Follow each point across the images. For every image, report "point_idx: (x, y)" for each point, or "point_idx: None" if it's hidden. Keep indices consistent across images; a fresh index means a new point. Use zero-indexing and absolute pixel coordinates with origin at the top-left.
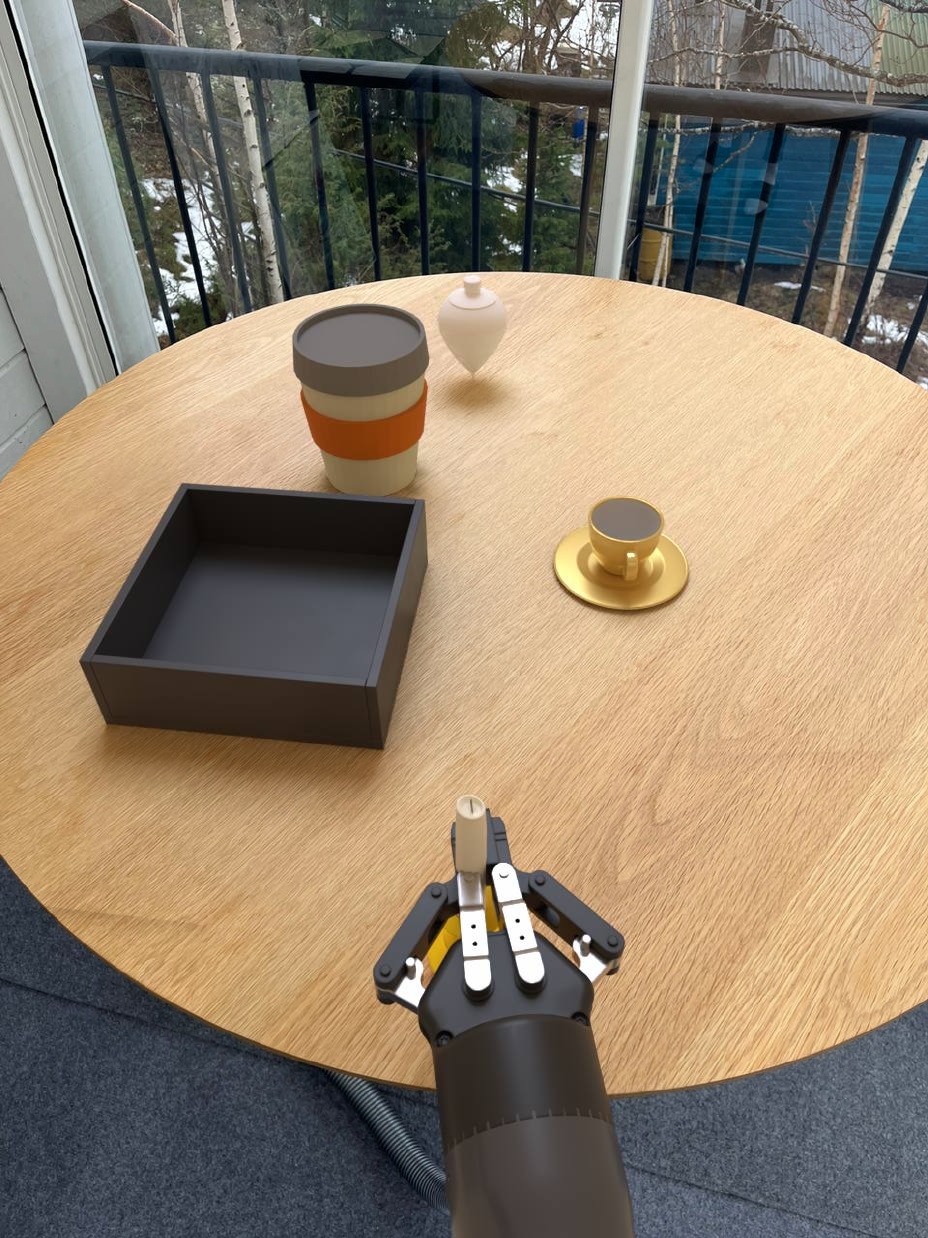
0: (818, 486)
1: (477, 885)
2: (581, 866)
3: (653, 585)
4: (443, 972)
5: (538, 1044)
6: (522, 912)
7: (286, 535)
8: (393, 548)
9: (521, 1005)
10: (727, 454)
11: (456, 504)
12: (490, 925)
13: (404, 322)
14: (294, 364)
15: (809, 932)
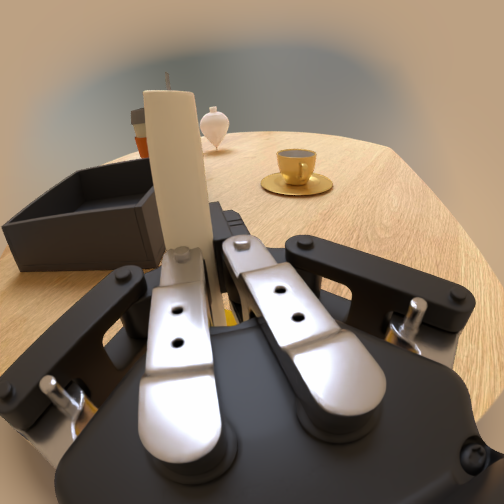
0: (372, 162)
1: (196, 261)
2: None
3: (316, 186)
4: (106, 410)
5: None
6: (287, 276)
7: (121, 188)
8: None
9: (329, 478)
10: (331, 156)
11: (209, 176)
12: None
13: None
14: (131, 120)
15: (476, 323)
